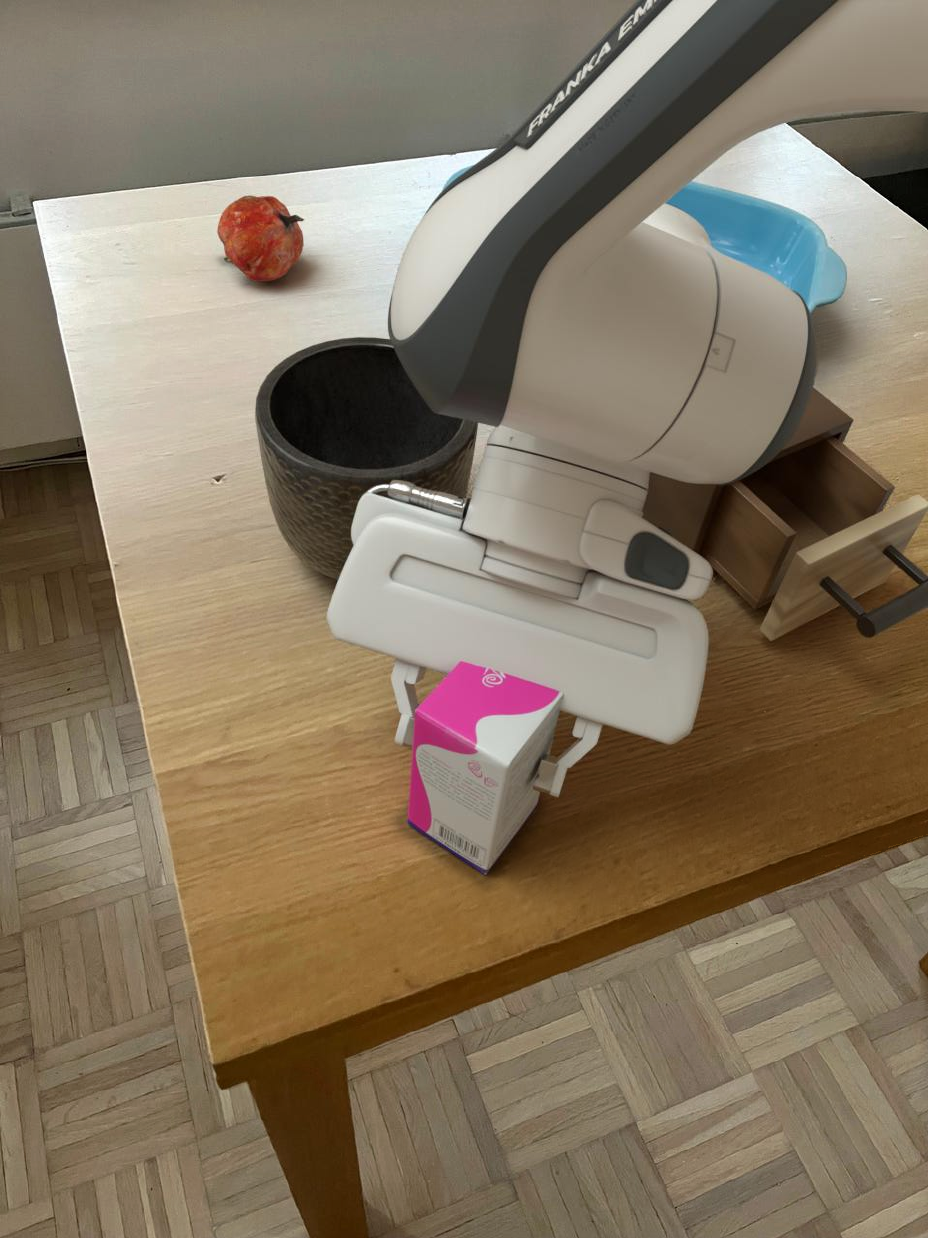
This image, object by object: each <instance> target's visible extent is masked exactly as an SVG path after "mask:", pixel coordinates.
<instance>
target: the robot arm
mask: <svg viewBox="0 0 928 1238" xmlns="http://www.w3.org/2000/svg"><path fill="white" fill-rule="evenodd" d="M855 112H916V113H917V112H918V113H919V112H920V113H928V0H636V1H634V3H633V4H632V5H631V6H630V8H628V10H627V11H625V12H624V14H623V15H622V16H621V17H620V18H619V19H618V20H617V21H616V23H615V24H614V25H613V26H612V27H610V29H608V31H607V32H606V33H605V34H604V35H603V36H602V38H601V39H599V41H598V42H597V43H595V45H594V46H593V48H591V50H590V51H589V52H587V54H586V55H585V56H584V57H583V58H582V59H581V60H580V61H579V63H577V64H576V66H575V67H574V68H573V69H572V70H571V71H570V72H569V73H568V75H566V76H565V78H564V79H563V80H562V81H561V82H560V83H559V84H558V85H557V86H556V87H555V88H554V89H553V90H552V91H551V92H550V93H549V95H548V96H547V97H546V98H545V99H544V100H543V101H542V102H541V103H540V104H539V105H538V107H536V109H534V111H533V112H532V113H530V115H529V116H528V117H527V118H526V119H525V120H524V121H523V122H522V123H521V124H520V126H518V128H517V129H516V130H514V131H513V133H512V134H511V135H510V136H508V137H507V139H506V140H504V141H503V142H502V143H501V144H500V145H499V146H498V147H496V148H495V149H493V151H491V152H490V153H489V154H487V155H486V156H485V157H483V158H482V159H480V160H479V161H478V162H476V163H475V164H473V165H474V166H472V165H471V166H472V167H471V168H470V169H468V170H467V171H465V172H464V173H463V174H461V175H460V176H459V177H457V178H456V179H455V180H454V181H452V182H451V183H450V184H449V185H448V186H447V187H446V188H445V189H444V190H443V191H442V190H441V192H440V193H439V194H438V195H437V197H435V199H434V200H433V201H432V203H431V204H430V205H429V207H428V208H427V210H426V211H425V213H424V214H423V216H422V218H421V220H420V221H419V223H418V224H417V225H416V227H415V229H414V230H413V232H412V234H411V235H410V237H409V240H407V241H408V242H407V243H406V246H405V248H404V251H403V253H402V255H401V258H400V261H399V264H398V267H397V270H396V274H395V277H394V278H395V279H394V283H393V287H392V290H391V295H390V299H389V305H388V313H387V332H388V333H387V334H388V337H389V339H390V340H391V342H392V345H393V347H394V349H395V352H396V354H397V356H398V358H399V360H400V362H401V364H402V366H403V368H404V370H405V371H406V373H407V375H408V377H409V378H410V380H411V381H412V383H413V385H414V386H415V388H416V389H417V391H418V392H419V394H420V395H421V397H422V398H423V399H424V401H425V402H426V403H427V405H428V406H429V407H430V409H431V410H432V411H433V412H434V413H437V414H442V415H446V416H450V417H455V418H459V419H464V420H468V421H473V422H477V423H478V424H483V425H487V426H490V427H493V428H492V430H491V432H490V434H489V435H488V438H487V441H486V443H485V444H486V445H485V447H484V451H483V454H482V458H481V461H480V464H479V467H478V472H477V475H476V478H475V483H474V486H473V488H472V492H471V495H470V498H467V497H466V498H463V497H460V496H456V495H453V494H449V493H446V492H441V491H435V490H429V489H425V488H422V487H418V486H416V485H415V484H413V483H411V482H407V481H403V480H392V481H391V482H390V484H380V485H376V486H374V487H372V488H370V489H369V490H367V491H366V492H365V493H364V494H363V495H362V497H361V498H360V500H359V502H358V504H357V508H356V511H355V515H354V519H353V522H352V526H351V540H352V544H353V548H352V550H351V552H350V554H349V556H348V558H347V560H346V563H345V565H344V567H343V570H342V572H341V574H340V577H339V579H338V580H337V583H336V585H335V587H334V590H333V593H332V595H331V598H330V602H329V605H328V608H327V612H326V623H327V625H328V627H329V629H330V632H331V634H332V637H333V638H334V639H335V640H337V641H340V642H343V643H346V644H349V645H353V646H356V647H358V648H360V649H361V648H362V649H365V650H368V651H371V652H373V653H377V654H380V655H384V656H386V657H390V658H392V659H393V658H394V659H395V662H394V665H393V669H392V672H391V676H390V682H391V686H392V689H393V692H394V697H395V700H396V705H397V708H398V713H399V714H400V719H399V722H398V725H397V729H396V732H395V735H394V743H393V744H395V745H397V746H399V747H402V748H403V747H404V748H407V749H410V750H413V736H414V717H415V710H416V709H417V708H418V707H419V705H420V704H419V701H418V696H417V692H416V687H415V685H416V684H417V683H419V682H421V681H423V680H424V679H425V675H426V671H427V670H431V671H434V672H438V673H441V674H444V675H446V676H447V675H448V674H449V673H450V672H451V671H452V670H453V669H454V668H455V667H456V666H457V664H458V663H459V662H460V661H463V662H466V663H470V664H474V665H477V666H481V667H485V668H488V669H492V670H495V671H499V672H502V673H505V674H508V675H512V676H515V677H518V678H521V679H524V680H527V681H531V682H534V683H537V684H540V685H543V686H546V687H549V688H552V689H555V690H557V691H559V692H562V693H563V694H564V695H563V698H562V701H561V703H560V705H559V708H558V710H560V712H564V713H568V714H570V715H574V716H576V719H575V723H574V726H573V729H572V734H571V735H572V736H573V737H575V738H577V739H576V740H575V741H574V742H573V743H572V744H571V745H570V746H568V747H567V748H566V749H565V750H564V751H563V752H562V753H561V754H560V755H559V756H555V755H551V754H549V755H548V754H545V755H543V757H542V759H541V762H540V765H539V768H538V774H537V776H536V778H535V781H534V785H533V789H534V790H537V791H540V793H543V794H545V795H549V796H552V797H554V798H557V799H558V798H559V797H560V794H561V791H562V788H563V785H564V782H565V779H566V775H567V772H568V769H571V768H572V767H574V765H575V764H577V762H579V761H580V760H581V759H582V758H583V757H585V755H587V754H588V752H590V751H591V750H592V749H593V748H594V747H595V746H596V745H598V741H599V738H600V735H601V732H602V729H603V726H604V725H605V726H608V727H611V728H615V729H617V730H621V731H624V732H627V733H630V734H633V735H637V736H640V737H643V738H647V739H649V740H653V741H655V742H659V743H662V744H665V745H674V744H676V743H679V742H680V741H681V740H683V739H684V738H686V737H687V736H688V735H690V734H691V732H692V730H693V727H694V724H695V722H696V721H695V720H696V718H697V713H698V710H699V707H700V706H699V705H700V701H701V698H702V693H703V687H704V682H705V678H706V677H705V676H706V671H707V663H708V655H709V647H710V646H709V643H710V642H709V641H710V640H709V637H710V636H709V630H708V626H707V622H706V620H705V618H704V616H703V614H702V612H701V611H700V610H699V608H698V607H697V606H696V605H695V604H694V603H693V602H692V601H696V600H697V601H698V600H701V599H702V598H704V597H705V595H706V594H707V593H708V591H709V589H710V586H711V584H712V580H713V576H714V568H713V567H712V566H711V565H710V563H709V562H708V561H707V560H706V559H704V558H703V557H702V556H700V555H699V554H697V553H696V552H694V551H693V550H691V549H690V548H688V547H687V546H685V545H684V544H682V543H681V542H679V541H677V540H676V539H674V538H673V534H672V533H670V532H669V531H668V530H667V529H664V528H663V527H661V526H658V527H656V526H654V525H653V524H651V523H650V522H648V521H647V520H645V519H644V518H642V517H643V512H642V510H643V506H644V503H645V500H646V496H647V493H648V492H647V491H648V487H649V475H650V472H653V473H656V474H659V475H662V476H665V477H669V478H672V479H675V480H678V481H682V482H687V483H695V484H714V485H719V486H720V485H727V484H731V483H733V482H736V481H738V480H741V479H743V478H745V477H747V476H749V475H750V474H752V473H754V472H756V471H757V470H759V469H760V468H762V467H763V466H764V465H766V464H767V463H768V462H769V461H771V460H772V459H773V458H774V457H775V456H776V455H777V454H778V453H779V452H780V451H781V450H782V449H783V448H784V447H785V445H786V444H787V443H788V442H789V441H790V439H791V438H792V436H793V435H794V433H795V431H796V430H797V428H798V426H799V424H800V422H801V420H802V418H803V416H804V413H805V411H806V408H807V405H808V402H809V399H810V396H811V392H812V389H813V387H814V383H815V380H816V374H817V373H816V372H817V366H818V365H817V363H818V342H817V341H818V340H817V332H816V328H815V323H814V320H813V317H812V313H811V314H810V311H809V309H808V307H807V305H806V303H805V301H804V299H803V298H802V296H801V295H800V294H799V293H797V292H796V291H793V290H791V289H789V288H788V287H787V286H785V285H784V284H783V283H781V282H780V281H778V280H777V279H775V278H774V277H772V276H770V275H768V274H766V273H764V272H762V271H760V270H757V269H755V268H753V267H751V266H749V265H746V264H744V263H742V262H740V261H737V260H735V259H733V258H730V257H728V256H726V255H724V254H722V253H720V252H719V251H717V250H716V249H714V248H713V247H712V246H711V241H710V238H709V236H708V234H707V232H706V231H705V229H704V228H703V227H702V226H701V225H700V223H699V222H698V221H696V220H695V219H694V218H693V217H692V216H690V215H689V214H688V213H686V212H685V211H683V210H681V209H679V208H677V207H675V206H673V205H670V204H668V203H666V202H667V201H668V200H669V199H670V198H672V197H673V196H674V195H675V194H676V193H678V192H679V191H680V190H681V189H682V188H684V187H685V186H686V185H687V184H688V183H690V182H691V181H694V179H696V178H697V177H698V176H699V175H700V174H702V173H703V172H704V171H705V170H706V169H707V168H709V167H710V166H711V165H713V164H714V163H715V162H716V161H718V159H720V158H721V157H722V156H724V155H725V154H726V153H727V152H728V151H730V150H732V149H733V148H734V147H735V146H737V145H739V144H740V143H742V142H743V141H746V140H747V139H750V138H751V137H753V136H755V135H757V134H759V133H762V132H764V131H767V130H770V129H772V128H775V127H777V126H780V125H782V124H786V123H790V122H795V121H798V120H803V119H806V118H811V117H812V118H813V117H818V116H825V115H830V114H832V115H833V114H842V113H843V114H844V113H855ZM383 491H388V496H389V497H391V498H393V499H395V500H393V499H390V498H387V497H383V496H380V495H376V493H379V492H383ZM407 503H408V504H407ZM411 503H413V504H417V505H420V506H424V507H426V508H428V509H430V510H428V509H424V508H421V507H417V506H414V505H411ZM431 510H433V511H431Z"/></svg>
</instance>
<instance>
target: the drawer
mask: <svg viewBox="0 0 928 1238" xmlns="http://www.w3.org/2000/svg"><path fill="white" fill-rule="evenodd" d="M895 487H896V486H895V485H894V484H893V483H892V482H890V481H889V480H888V479H887V478H885V477H884V475H882V474H880V473H879V472H878V471H877V470H876V469H874V468H873V467H872V466H871V465H870V464H869V463H867V462H866V461H864V460H863V459H862V458H861V457H860V456H859V455H857V454H856V453H855V452H854V451H852V450H851V449H850V448H849V447H848V446H846V444H844V442H843V443H841V442H840V441H839V440H838V439H837V438H835V437H834V436H830V437H828V438H826V439H823V440H821V441H819V442H816V443H814V444H812V445H809V446H807V447H805V448H802V449H800V450H798V451H795V452H793V453H791V454H788V455H786V456H784V457H781V458H779V459H777V460H774V461H772V462H769V463H767V464H766V465H764V466H763V467H762V468H760V469H759V470H757V471H756V472H754V473H752V474H750V475H749V476H747V477H745V478H743V479H741V480H738V481H736V482H733V483H731V484H727V485H723V488H722V490H721V493H720V496H719V498H718V501H717V504H716V507H715V509H714V512H713V515H712V517H711V520H710V523H709V526H708V528H707V531H706V534H705V537H704V539H703V542H702V545H701V547H700V550H699V554H700V555H701V556H702V557H703V558H704V559H706V560H707V561H708V562H709V563H710V565H711V566H712V569H713V570H715V571H716V572H717V574H718V575H719V576H721V577H722V579H723V580H725V581H726V582H727V583H728V585H730V587H732V588H733V589H734V590H735V591H736V593H738V595H739V596H740V597H742V599H744V601H746V603H747V604H749V606H751V608H753V610H758V609H760V608H761V607H763V606H765V605H766V606H767V604H770V603H771V604H770V607H769V609H768V611H767V613H766V615H765V617H764V619H763V621H762V623H761V625H760V628H759V631H760V632H761V633H762V634H763V635H764V636H765V637H766V638H767V639H768V640H769V641H770V642H773V641H775V640H776V639H778V638H780V637H782V636H785V635H786V634H788V633H789V632H792V631H793V630H795V629H798V628H800V627H801V626H803V625H806V624H807V623H809V622H811V621H813V620H816V619H817V618H818V617H820V616H823V615H824V614H826V613H828V612H830V611H832V610H834V609H836V608H837V607H839V606H841V607H842V608H843V609H844V610H845V611H846V612H848V614H849V615H850V616H852V618H853V619H855V620H856V622H855V626H856V629H857V631H858V633H859V634H860V635H861V636H863V637H864V638H866V639H871V638H873V637H875V636H877V635H880V634H881V633H883V632H885V631H886V630H888V629H890V628H892V627H894V626H895V625H897V624H899V623H901V622H903V621H904V620H907V619H909V618H910V617H913V616H915V614H918V613H920V612H922V611H923V610H925V609H927V608H928V575H927V574H926V573H925V572H924V571H923V570H921V569H920V567H918V566H917V565H916V564H914V563H913V561H911V560H910V559H909V558H907V556H905V555H904V554H903V553H904V551H905V550H906V548H907V547H908V544H909V543H910V541H911V540H912V539H913V536H914V534H915V533H916V531H917V530H918V528H919V526H920V525H921V523H922V521H923V519H924V518H925V516H926V514H927V513H928V500H927V499H925V498H924V497H923V496H921V494H919V493H917V494H915V495H913V496H910V497H908V498H907V499H904V500H902V501H899V502H898V503H896V504H894V505H892V506H890V507H888V508H885V507H886V505H887V503H888V501H889V499H890V497H891V495H892V494H893V492H894V490H895ZM896 566H897V568H898V569H900V570H901V571H902V572H903V573H904V574H906V575H907V576H908V577H909V578H910V579H911V580H913V581H914V582H915V583H916V584H917V585H916V586H915V587H913V588H910V589H908V590H906V591H904V592H903V593H900V594H899V595H898V596H896V597H894V598H892V599H890V600H888V601H886V602H884V603H882V604H880V605H879V606H877V607H875V608H873V609H871V610H869V611H867V610H866V609H865V608H864V607H863V606H862V605H860V603H858V602H857V601H856V600H855V598H857V597H859V596H861V595H863V594H864V593H866V592H868V591H871V590H873V589H874V588H876V587H878V586H880V585H882V584H884V583H886V582H887V580H888V579H889V576H890V575H891V573H892V572H893V570H894V568H895V567H896Z"/></svg>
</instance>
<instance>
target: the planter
mask: <svg viewBox="0 0 928 1238" xmlns="http://www.w3.org/2000/svg"><path fill="white" fill-rule="evenodd" d="M254 409H255V410H254V420H255V427H256V435H257V440H258V447H259V453H260V459H261V465H262V469H263V471H262V472H263V476H264V482H265V487H266V491H267V497H268V500H269V504H270V508H271V510H272V514H273V516H274V520H275V522H276V525H277V527H278V529H279V532H280V534H281V536H282V537H283V539H284V541H285V542H286V544H287V546H288V547H289V549H290V550H291V551H292V552H293V554H295V555H296V556H297V557H298V558H299V559H300V560H301V561H302V562H303V563H305V564H306V565H307V566H309V567H310V568H311V569H312V570H314V571H316V572H318V573H320V574H322V575H324V576H325V577H328V578H331V579H334V580H337V581H338V579H339V577H340V574H341V572H342V570H343V567H344V565H345V563H346V560H347V558H348V556H349V554H350V552H351V550H352V548H353V544H352V540H351V526H352V522H353V519H354V515H355V511H356V508H357V504H358V502H359V500H360V498H361V497H362V495H363V494H364V493H365V492H366V491H367V490H369V489H370V488H372V487H374V486H376V485H380V484H390V482H391V481H392V480H403V481H407V482H411V483H413V484H415V485H416V486H418V487H422V488H425V489H429V490H435V491H441V492H446V493H449V494H453V495H456V496H460V497H463V498H467V494H468V489H469V486H470V485H469V484H470V479H471V474H472V468H473V462H474V457H475V450H476V442H477V437H478V436H477V435H478V429H479V427H478V426H479V423H477V422H473V421H468V420H464V419H459V418H455V417H450V416H446V415H442V414H437V413H434V412H433V411H432V410H431V409H430V407H429V406H428V405H427V403H426V402H425V401H424V399H423V398H422V397H421V395H420V394H419V392H418V391H417V389H416V388H415V386H414V385H413V383H412V381H411V380H410V378H409V377H408V375H407V373H406V371H405V370H404V368H403V366H402V364H401V362H400V360H399V358H398V356H397V354H396V352H395V349H394V347H393V345H392V342H391V340H390V338H382V337H373V336H371V337H370V336H357V337H356V336H355V337H345V338H343V337H342V338H338V339H337V338H336V339H332V340H326V341H323V342H320V343H316V344H312V345H310V346H308V347H305V348H302V349H300V350H298V351H296V352H294V353H293V354H291V355H289V356H288V357H285V358H284V359H283V360H282V361H280V362H279V363H278V364H277V365H275V366H274V368H273V369H271V370H270V372H269V373H268V374H267V375H266V376H265V378H264V379H263V381H262V382H261V385H260V386H259V389H258V392H257V395H256V398H255V408H254ZM376 495H380V496H383V497H387V498H390V499H393V498H391V497H389V496H388V491H383V492H379V493H376ZM393 500H395V499H393ZM407 504H408V503H407ZM411 505H414V506H417V507H421V508H424V509H428V508H426V507H424V506H420V505H417V504H413V503H411ZM428 510H430V509H428ZM431 511H433V510H431Z"/></svg>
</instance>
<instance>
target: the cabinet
mask: <svg viewBox="0 0 928 1238" xmlns="http://www.w3.org/2000/svg"><path fill="white" fill-rule="evenodd" d="M853 422H854V418H853V417H851V416H850V415H849V414H848V413H846V412H845V411H844V410H842V408H840V407H839V406H838V405H836V404H835V403H834V402H833V401H831V400H830V399H829V398H827V397H826V395H824V394H823V393H821V392H820V391H819V390H817V388H815V387H814V386H813V389H812V392H811V396H810V399H809V402H808V405H807V408H806V411H805V413H804V416H803V418H802V420H801V422H800V424H799V426H798V428H797V430H796V431H795V433H794V435H793V436H792V438H791V439H790V441H789V442H788V443H787V444H786V445H785V447H784V448H783V449H782V450H781V451H780V452H779V453H778V454H777V455H776V456H775V457H774V458H773V459H772V460H771V461H769V462H772V461H774V460H777V459H779V458H781V457H784V456H786V455H788V454H791V453H793V452H795V451H798V450H800V449H802V448H805V447H807V446H809V445H812V444H814V443H816V442H819V441H821V440H823V439H826V438H828V437H830V436H834V437H835V438H837V439H838V440H839V441H840V442H841V443H843V444H844V443H845V439H846V438H847V436H848V434H849V431H850V428H851V427H852V425H853ZM769 462H768V463H769ZM722 488H723V485H720V486H719V485H714V484H695V483H687V482H682V481H678V480H675V479H672V478H669V477H665V476H662V475H659V474H656V473H653V472H650V475H649V487H648V491H647V492H648V493H647V496H646V500H645V503H644V506H643V510H642V512H643V517H642V518H644V519H645V520H647V521H648V522H650V523H651V524H653V525H654V526H656V527H658V526H661V527H663V528H664V529H667V530H668V531H669V532H670V533H672V534H673V538H674V539H676V540H677V541H679V542H681V543H682V544H684V545H685V546H687V547H688V548H690V549H691V550H693V551H694V552H696V553H697V554H699V550H700V547H701V545H702V542H703V539H704V537H705V534H706V531H707V528H708V526H709V523H710V520H711V517H712V515H713V512H714V509H715V507H716V504H717V501H718V498H719V496H720V493H721V490H722ZM699 555H700V554H699ZM700 556H701V555H700Z"/></svg>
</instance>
